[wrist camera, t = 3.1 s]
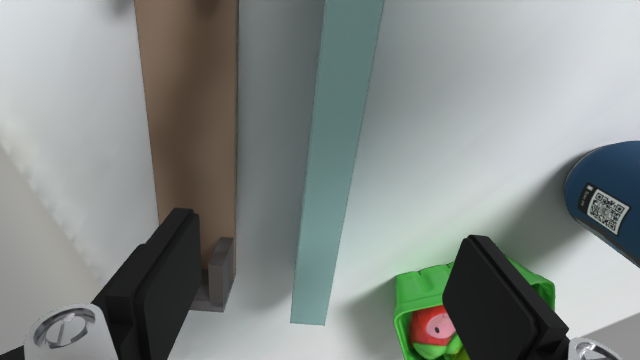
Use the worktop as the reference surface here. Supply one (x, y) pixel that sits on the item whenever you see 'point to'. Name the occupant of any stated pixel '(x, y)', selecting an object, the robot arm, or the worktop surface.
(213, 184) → the endcap rail
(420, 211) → the worktop surface
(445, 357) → the fruit basket
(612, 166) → the soda can
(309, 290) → the slat
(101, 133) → the worktop surface
